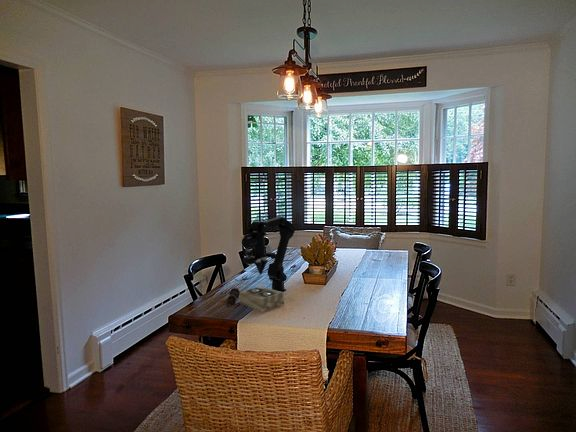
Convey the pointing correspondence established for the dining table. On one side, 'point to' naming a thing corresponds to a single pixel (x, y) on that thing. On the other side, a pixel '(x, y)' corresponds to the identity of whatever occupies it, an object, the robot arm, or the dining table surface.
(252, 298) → the jig block
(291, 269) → the dining table surface
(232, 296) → the bolt
